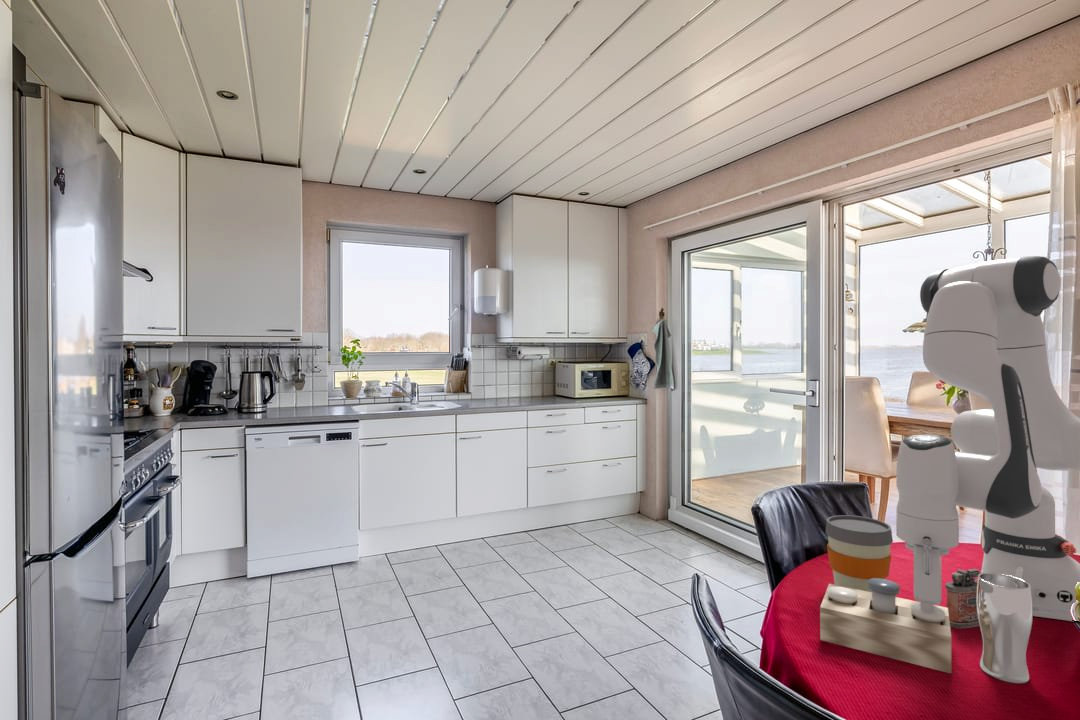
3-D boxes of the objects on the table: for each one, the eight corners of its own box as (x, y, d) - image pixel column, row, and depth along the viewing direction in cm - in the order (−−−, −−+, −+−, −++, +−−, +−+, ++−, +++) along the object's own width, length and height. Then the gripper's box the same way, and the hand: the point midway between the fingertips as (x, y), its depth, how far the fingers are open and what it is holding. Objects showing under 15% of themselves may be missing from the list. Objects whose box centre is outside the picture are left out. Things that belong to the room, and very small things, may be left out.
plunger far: (858, 626, 103) (858, 590, 103) (856, 637, 99) (856, 600, 99) (830, 619, 106) (829, 584, 106) (826, 630, 102) (826, 593, 102)
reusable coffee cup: (890, 611, 109) (889, 537, 109) (821, 595, 117) (820, 525, 117) (895, 589, 119) (895, 521, 119) (831, 576, 127) (830, 511, 127)
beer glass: (976, 655, 93) (976, 568, 93) (1031, 670, 89) (1031, 578, 89) (976, 674, 88) (975, 581, 88) (1034, 691, 83) (1034, 593, 83)
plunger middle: (900, 619, 99) (899, 581, 99) (899, 630, 95) (898, 591, 95) (869, 612, 102) (868, 576, 102) (867, 623, 98) (866, 585, 98)
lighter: (958, 629, 102) (957, 576, 102) (940, 621, 105) (940, 569, 105) (990, 623, 104) (990, 571, 104) (972, 615, 107) (971, 564, 107)
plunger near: (944, 646, 95) (944, 607, 95) (945, 659, 91) (945, 618, 91) (911, 638, 98) (911, 600, 98) (911, 650, 94) (910, 611, 94)
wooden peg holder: (948, 640, 98) (947, 607, 98) (951, 673, 88) (951, 636, 88) (829, 613, 109) (829, 583, 109) (820, 640, 99) (820, 607, 99)
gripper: (952, 551, 84) (952, 640, 84) (947, 518, 101) (947, 592, 101) (903, 543, 88) (903, 629, 88) (905, 513, 105) (906, 584, 105)
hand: (926, 609), depth 95 cm, fingers closed, pressing on plunger near
